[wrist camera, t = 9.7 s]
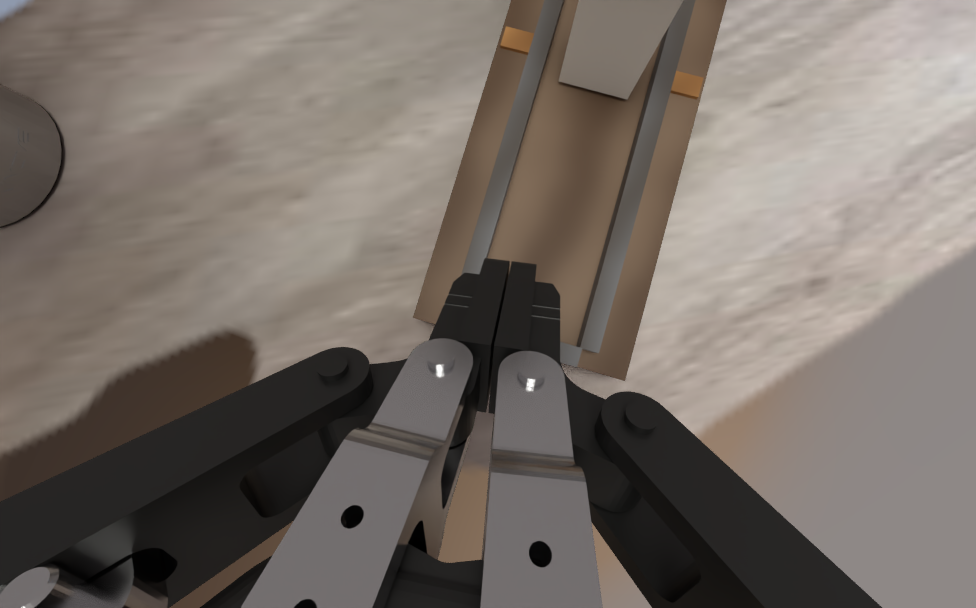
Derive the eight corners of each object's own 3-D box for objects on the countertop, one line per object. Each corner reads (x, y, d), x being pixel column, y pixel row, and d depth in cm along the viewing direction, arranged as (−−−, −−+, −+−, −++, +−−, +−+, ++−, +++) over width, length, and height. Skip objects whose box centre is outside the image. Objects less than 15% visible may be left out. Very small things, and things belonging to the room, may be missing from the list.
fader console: (421, 319, 23) (406, 316, 19) (529, -29, 24) (535, -100, 20) (610, 375, 22) (635, 384, 18) (707, 16, 24) (749, -47, 20)
